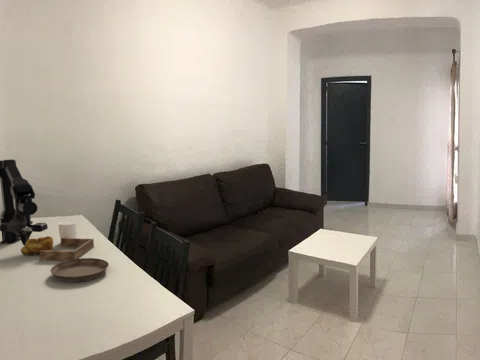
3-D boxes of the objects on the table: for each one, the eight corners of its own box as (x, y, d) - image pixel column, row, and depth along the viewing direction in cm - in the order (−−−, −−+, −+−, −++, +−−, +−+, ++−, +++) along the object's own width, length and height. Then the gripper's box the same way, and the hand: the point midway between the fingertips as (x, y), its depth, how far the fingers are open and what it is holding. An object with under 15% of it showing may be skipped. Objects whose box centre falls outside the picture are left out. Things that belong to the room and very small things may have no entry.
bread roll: (20, 258, 166) (19, 240, 165) (22, 251, 175) (20, 234, 173) (53, 254, 171) (52, 236, 170) (53, 248, 180) (52, 231, 179)
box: (40, 260, 164) (39, 251, 163) (62, 246, 183) (61, 238, 182) (75, 261, 163) (74, 251, 163) (93, 247, 182) (93, 238, 182)
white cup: (72, 245, 184) (71, 225, 183) (56, 245, 184) (55, 224, 183) (80, 240, 192) (79, 220, 190) (64, 240, 192) (63, 220, 191)
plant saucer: (91, 261, 164) (91, 253, 164) (119, 273, 151) (119, 265, 151) (41, 275, 148) (40, 267, 148) (67, 290, 135) (67, 281, 135)
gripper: (-11, 214, 163) (-8, 250, 166) (32, 215, 163) (35, 251, 165) (6, 209, 175) (9, 242, 177) (47, 210, 174) (49, 244, 176)
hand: (25, 245), depth 173 cm, fingers closed
